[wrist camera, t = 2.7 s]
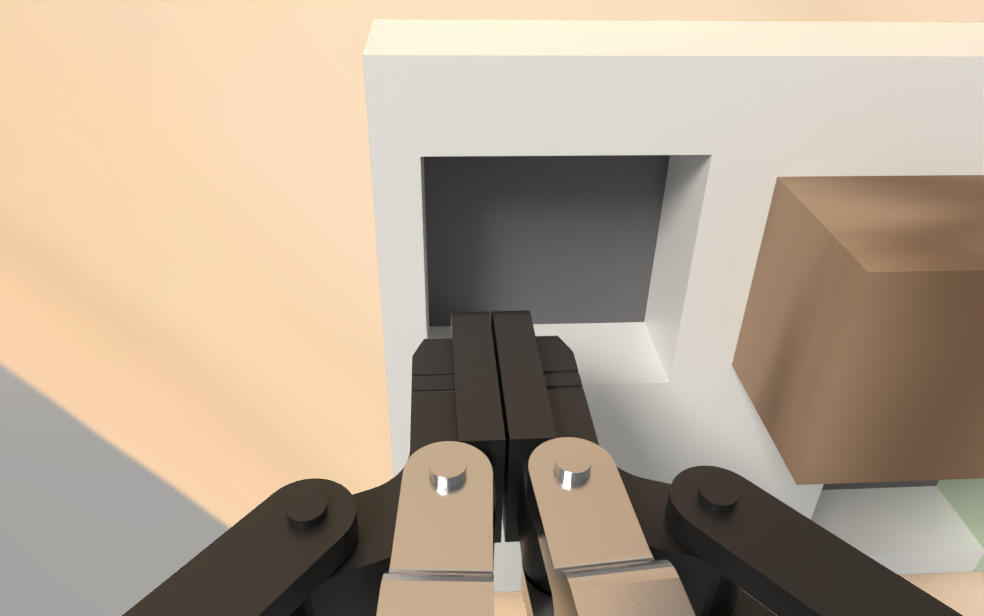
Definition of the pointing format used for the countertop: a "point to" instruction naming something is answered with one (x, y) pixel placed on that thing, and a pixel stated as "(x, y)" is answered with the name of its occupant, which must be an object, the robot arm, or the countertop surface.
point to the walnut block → (870, 328)
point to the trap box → (654, 220)
